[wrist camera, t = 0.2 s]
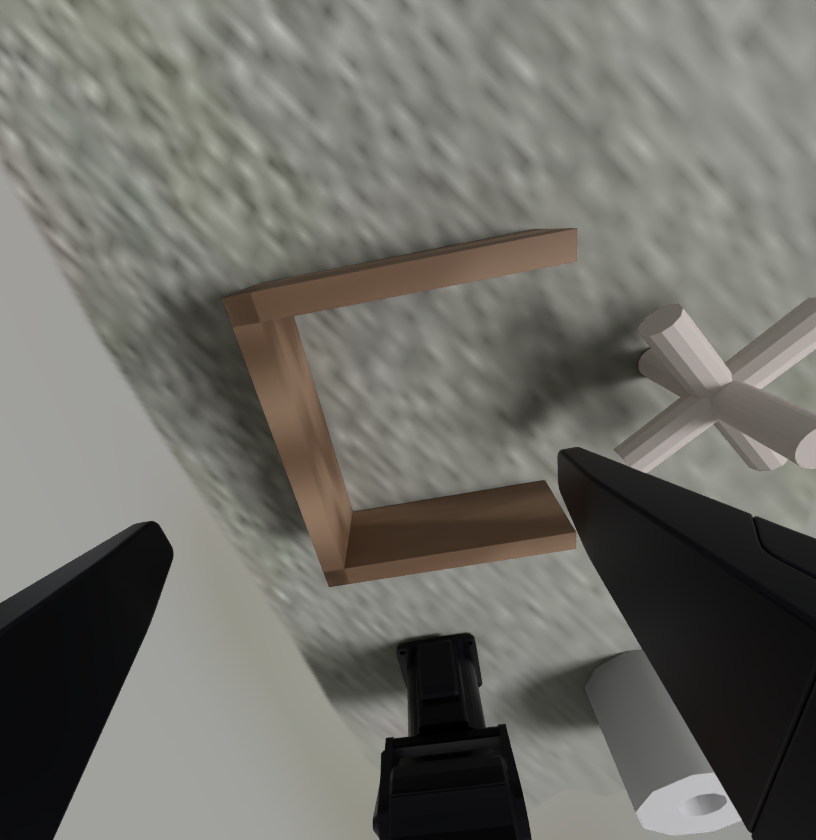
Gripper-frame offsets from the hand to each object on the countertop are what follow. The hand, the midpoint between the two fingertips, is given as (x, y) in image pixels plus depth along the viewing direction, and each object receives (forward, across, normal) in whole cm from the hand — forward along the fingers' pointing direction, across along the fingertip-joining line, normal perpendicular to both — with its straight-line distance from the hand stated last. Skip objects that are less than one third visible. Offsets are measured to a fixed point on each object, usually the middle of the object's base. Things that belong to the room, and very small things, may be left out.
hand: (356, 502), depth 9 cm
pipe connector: (+15, -15, +4) cm, 22 cm away
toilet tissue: (+15, -17, +36) cm, 43 cm away
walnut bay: (+15, -2, +4) cm, 15 cm away
